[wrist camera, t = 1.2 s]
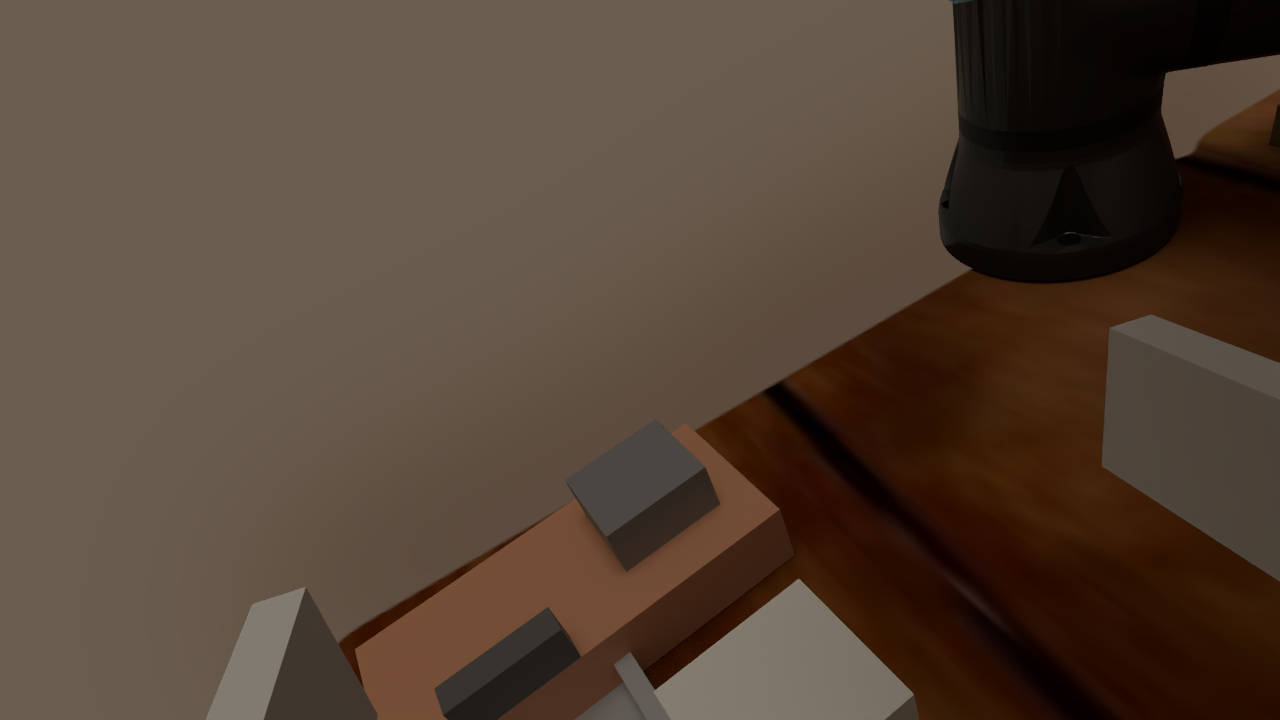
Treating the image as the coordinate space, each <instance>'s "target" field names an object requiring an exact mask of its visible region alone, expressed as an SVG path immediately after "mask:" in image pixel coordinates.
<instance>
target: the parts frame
mask: <svg viewBox="0 0 1280 720" xmlns="http://www.w3.org/2000/svg"><path fill="white" fill-rule="evenodd" d="M1269 145H1276V146H1280V104H1278V107H1277V112H1276V116H1275V121H1274V125H1273V130H1272V134H1271V139H1270V143H1269Z"/></svg>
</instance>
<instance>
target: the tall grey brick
mask: <svg viewBox="0 0 1280 720" xmlns="http://www.w3.org/2000/svg"><path fill="white" fill-rule="evenodd" d="M654 694H655V695H656V697H657V698H658V700H659V701H660V703H661V705H662V706H663V708H664V709H665V711H666V712H667V714H668V716H669V717H670V719H671V720H919V716H918V711H917V706H916V701H915V696H914V694H913V693H912V692H911V691H910V690H909V689H908V688H907V687H906V686H905V685H904V684H903V683H902V682H901V681H900V680H899V679H898V678H897V677H896V676H895V675H894V674H893V673H892V672H891V671H890V670H889V669H888V668H887V667H886V666H885V665H884V664H883V663H882V662H881V661H880V660H879V659H878V658H877V657H876V656H875V655H874V654H873V653H872V652H871V651H870V650H869V649H868V648H867V647H866V646H865V645H864V644H863V643H862V642H861V641H860V640H859V639H858V638H857V637H856V636H855V635H854V633H853V632H852V631H851V630H850V629H849V628H848V627H847V626H846V625H845V624H844V623H843V622H842V621H841V620H840V619H839V618H838V617H837V616H836V615H835V614H834V613H833V612H832V611H831V610H830V609H829V608H828V607H827V606H826V605H825V604H824V603H823V602H822V601H821V600H820V599H819V598H818V597H817V596H816V595H815V594H814V593H813V592H812V591H811V590H810V589H809V588H808V587H807V586H806V585H805V584H804V583H803V582H802V581H801V580H800V579H798V580H797V581H795V582H794V583H793V584H791V585H790V586H789V587H788V588H786V589H785V590H784V591H782V592H781V593H780V594H779V595H777V596H776V597H775V598H773V599H772V600H771V601H769V602H768V603H767V604H766V605H764V606H763V607H762V608H760V609H759V610H758V611H757V612H755V613H754V614H753V615H751V616H750V617H749V618H748V619H746V620H745V621H744V622H742V623H741V624H740V625H739V626H737V627H736V628H735V629H733V630H732V631H731V632H730V633H728V634H727V635H726V636H724V637H723V638H722V639H721V640H719V641H718V642H717V643H715V644H714V645H713V646H712V647H710V648H709V649H708V650H706V651H705V652H704V653H703V654H701V655H700V656H699V657H697V658H696V659H695V660H694V661H692V662H691V663H690V664H688V665H687V666H686V667H685V668H683V669H682V670H681V671H679V672H678V673H677V674H675V675H674V676H673V677H672V678H670V679H669V680H668V681H666V682H665V683H664V684H663V685H661V686H660V687H659V688H657V689H656V690H655V691H654Z"/></svg>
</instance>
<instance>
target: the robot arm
mask: <svg viewBox="0 0 1280 720" xmlns="http://www.w3.org/2000/svg"><path fill="white" fill-rule="evenodd" d="M950 1H952V2H953V16H954V32H955V56H956V76H957V100H958V116H959V138H958V142H957V145H956V149H955V152H954V155H953V159H952V162H951V165H950V169H949V172H948V175H947V178H946V182H945V187H944V190H943V192H942V196H941V198H940V203H939V212H938V213H939V225H940V236H941V240H942V243H943V245H944V246H945V248H946V249H947V251H948V252H949V253H950V254H951V255H952V256H953V257H955V258H956V259H957V260H959V261H960V262H961V263H963V264H965V265H967V266H969V267H971V268H973V269H976V270H978V271H981V272H984V273H987V274H990V275H994V276H999V277H1004V278H1009V279H1017V280H1028V281H1058V280H1070V279H1078V278H1085V277H1090V276H1095V275H1100V274H1104V273H1107V272H1111V271H1114V270H1117V269H1120V268H1123V267H1126V266H1129V265H1131V264H1133V263H1136V262H1138V261H1140V260H1142V259H1144V258H1146V257H1147V256H1149V255H1151V254H1152V253H1154V252H1155V251H1157V250H1158V249H1159V248H1161V247H1162V246H1163V245H1164V244H1165V243H1166V242H1167V241H1168V240H1169V239H1170V238H1171V237H1172V235H1173V234H1174V232H1175V231H1176V228H1177V226H1178V223H1179V218H1180V211H1181V205H1182V198H1183V184H1182V179H1181V176H1180V174H1179V173H1178V171H1177V167H1176V162H1175V158H1174V155H1173V151H1172V147H1171V144H1170V140H1169V137H1168V134H1167V130H1166V127H1165V124H1164V121H1163V118H1162V114H1161V105H1162V96H1163V87H1164V80H1165V75H1166V73H1168V72H1172V71H1177V70H1183V69H1190V68H1197V67H1203V66H1208V65H1213V64H1220V63H1227V62H1234V61H1240V60H1247V59H1253V58H1260V57H1267V56H1273V55H1280V0H950ZM1102 467H1104V468H1105V469H1107V470H1109V471H1110V472H1112V473H1113V474H1115V475H1116V476H1118V477H1119V478H1121V479H1122V480H1124V481H1126V482H1127V483H1129V484H1130V485H1132V486H1133V487H1135V488H1136V489H1138V490H1139V491H1141V492H1142V493H1144V494H1146V495H1147V496H1149V497H1150V498H1152V499H1153V500H1155V501H1156V502H1158V503H1159V504H1161V505H1163V506H1164V507H1166V508H1167V509H1169V510H1170V511H1172V512H1173V513H1175V514H1176V515H1178V516H1179V517H1181V518H1183V519H1184V520H1186V521H1187V522H1189V523H1190V524H1192V525H1193V526H1195V527H1196V528H1198V529H1199V530H1201V531H1203V532H1204V533H1206V534H1207V535H1209V536H1210V537H1212V538H1213V539H1215V540H1216V541H1218V542H1220V543H1221V544H1223V545H1224V546H1226V547H1227V548H1229V549H1230V550H1232V551H1233V552H1235V553H1236V554H1238V555H1240V556H1241V557H1243V558H1244V559H1246V560H1247V561H1249V562H1250V563H1252V564H1253V565H1255V566H1257V567H1258V568H1260V569H1261V570H1263V571H1264V572H1266V573H1267V574H1269V575H1270V576H1272V577H1273V578H1275V579H1277V580H1278V581H1280V363H1278V362H1275V361H1273V360H1270V359H1267V358H1265V357H1262V356H1260V355H1257V354H1254V353H1252V352H1249V351H1246V350H1244V349H1241V348H1238V347H1236V346H1233V345H1230V344H1228V343H1225V342H1222V341H1220V340H1217V339H1215V338H1212V337H1209V336H1207V335H1204V334H1201V333H1199V332H1196V331H1193V330H1191V329H1188V328H1185V327H1183V326H1180V325H1177V324H1175V323H1172V322H1170V321H1167V320H1164V319H1162V318H1159V317H1156V316H1154V315H1148V316H1145V317H1142V318H1139V319H1136V320H1133V321H1129V322H1126V323H1123V324H1120V325H1117V326H1114V327H1111V328H1110V330H1109V348H1108V365H1107V382H1106V400H1105V417H1104V434H1103V452H1102ZM377 717H378V714H377V712H376V710H375V709H374V707H373V705H372V703H371V702H370V700H369V698H368V696H367V695H366V693H365V691H364V689H363V687H362V686H361V684H360V682H359V680H358V679H357V677H356V675H355V673H354V671H353V670H352V668H351V666H350V664H349V663H348V661H347V659H346V657H345V656H344V654H343V652H342V650H341V648H340V647H339V645H338V643H337V641H336V640H335V638H334V637H333V634H332V633H331V631H330V629H329V627H328V625H327V624H326V622H325V620H324V619H323V617H322V615H321V613H320V611H319V610H318V608H317V606H316V604H315V602H314V601H313V599H312V597H311V595H310V594H309V592H308V590H307V588H306V587H304V588H301V589H298V590H295V591H292V592H289V593H286V594H282V595H279V596H276V597H273V598H270V599H267V600H264V601H261V602H258V603H255V604H253V605H252V607H251V610H250V612H249V614H248V617H247V619H246V622H245V624H244V627H243V629H242V632H241V634H240V637H239V639H238V642H237V644H236V646H235V649H234V651H233V654H232V656H231V659H230V661H229V664H228V666H227V669H226V671H225V674H224V676H223V679H222V681H221V683H220V686H219V688H218V691H217V694H216V696H215V698H214V701H213V703H212V706H211V708H210V710H209V713H208V715H207V718H206V720H377Z"/></svg>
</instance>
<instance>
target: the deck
mask: <svg viewBox="0 0 1280 720" xmlns="http://www.w3.org/2000/svg"><path fill="white" fill-rule="evenodd" d="M566 483H567V484H568V486H569V488H570V489H571V491H572V493H573V494H574V496H575V498H576V499H574V500H573V501H571V502H570V503H568V504H567V505H565V506H564V507H563V508H561V509H560V510H558V511H557V512H555V513H554V514H552V515H551V516H549V517H548V518H546V519H545V520H544V521H542V522H541V523H539V524H538V525H536V526H535V527H533V528H532V529H530V530H529V531H527V532H526V533H524V534H523V535H522V536H520V537H519V538H517V539H516V540H514V541H513V542H511V543H510V544H508V545H507V546H505V547H504V548H503V549H501V550H500V551H498V552H497V553H495V554H494V555H492V556H491V557H489V558H488V559H486V560H485V561H484V562H482V563H481V564H479V565H478V566H476V567H475V568H473V569H472V570H470V571H469V572H467V573H466V574H465V575H463V576H462V577H460V578H459V579H457V580H456V581H454V582H453V583H451V584H450V585H448V586H447V587H446V588H444V589H443V590H441V591H440V592H438V593H437V594H435V595H434V596H432V597H431V598H429V599H428V600H426V601H425V602H424V603H422V604H421V605H419V606H418V607H416V608H415V609H413V610H412V611H410V612H409V613H407V614H406V615H405V616H403V617H402V618H400V619H399V620H397V621H396V622H394V623H393V624H391V625H390V626H388V627H387V628H386V629H384V630H383V631H381V632H380V633H378V634H377V635H375V636H374V637H372V638H371V639H369V640H368V641H367V642H365V643H364V644H362V645H361V646H359V647H358V648H356V649H355V651H356V656H357V660H358V664H359V668H360V673H361V677H362V681H363V685H364V690H365V693H366V695H367V696H368V698H369V700H370V702H371V703H372V705H373V707H374V709H375V710H376V712H377V714H378V717H377V720H671V719H670V717H669V716H668V714H667V712H666V711H665V709H664V708H663V706H662V705H661V703H660V701H659V700H658V698H657V697H656V695H655V694H654V691H655V689H654V688H653V686H652V684H651V683H650V681H649V680H648V678H647V677H646V675H645V674H644V672H643V671H644V670H645V669H647V668H648V667H649V666H651V665H652V664H653V663H655V662H656V661H657V660H658V659H660V658H661V657H662V656H664V655H665V654H666V653H668V652H669V651H670V650H672V649H673V648H674V647H675V646H677V645H678V644H679V643H681V642H682V641H683V640H685V639H686V638H687V637H688V636H690V635H691V634H692V633H694V632H695V631H696V630H698V629H699V628H700V627H702V626H703V625H704V624H705V623H707V622H708V621H709V620H711V619H712V618H713V617H715V616H716V615H717V614H718V613H720V612H721V611H722V610H724V609H725V608H726V607H728V606H729V605H730V604H732V603H733V602H734V601H735V600H737V599H738V598H739V597H741V596H742V595H743V594H745V593H746V592H747V591H749V590H750V589H751V588H752V587H754V586H755V585H756V584H758V583H759V582H760V581H762V580H763V579H764V578H765V577H767V576H768V575H769V574H771V573H772V572H773V571H775V570H776V569H777V568H779V567H780V566H781V565H782V564H784V563H785V562H786V561H788V560H789V559H790V558H792V557H793V556H794V555H795V554H794V551H793V548H792V545H791V542H790V539H789V536H788V533H787V530H786V527H785V524H784V521H783V518H782V515H781V512H780V509H779V508H778V507H777V506H775V505H774V504H773V503H772V502H771V501H770V500H769V499H768V498H767V497H766V496H765V495H763V494H762V493H761V492H760V491H759V490H758V489H757V488H756V487H755V486H754V485H753V484H751V483H750V482H749V481H748V480H747V479H746V478H745V477H744V476H743V475H742V474H741V473H739V472H738V471H737V470H736V469H735V468H734V467H733V466H732V465H731V464H730V463H729V462H727V461H726V460H725V459H724V458H723V457H722V456H721V455H720V454H719V453H718V452H717V451H716V450H714V449H713V448H712V447H711V446H710V445H709V444H708V443H707V442H706V441H705V440H704V439H702V438H701V437H700V436H699V435H698V434H697V433H696V432H695V431H694V430H693V429H692V428H690V427H689V426H688V425H687V424H684V425H682V426H681V427H680V428H678V429H677V430H675V431H674V432H672V433H670V432H669V431H668V430H667V429H666V428H665V427H664V426H663V425H661V424H660V423H659V422H658V421H657V420H654V421H652V422H651V423H649V424H648V425H646V426H645V427H643V428H642V429H641V430H639V431H638V432H636V433H635V434H633V435H632V436H630V437H629V438H627V439H626V440H624V441H623V442H621V443H620V444H618V445H617V446H615V447H614V448H612V449H611V450H609V451H608V452H606V453H605V454H603V455H602V456H600V457H599V458H598V459H596V460H595V461H593V462H592V463H590V464H589V465H587V466H586V467H584V468H583V469H581V470H580V471H578V472H577V473H575V474H574V475H572V476H571V477H569V478H568V479H567V480H566Z"/></svg>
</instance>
